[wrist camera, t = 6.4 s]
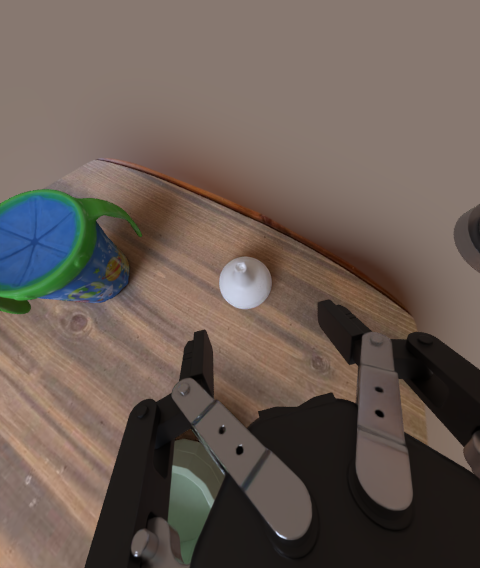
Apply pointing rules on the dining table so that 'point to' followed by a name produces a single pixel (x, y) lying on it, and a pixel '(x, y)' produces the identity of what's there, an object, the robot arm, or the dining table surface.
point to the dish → (192, 492)
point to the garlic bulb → (245, 282)
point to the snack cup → (58, 250)
